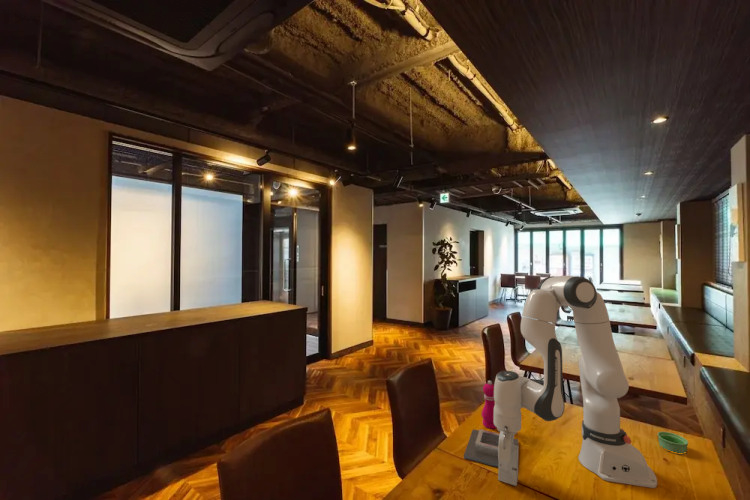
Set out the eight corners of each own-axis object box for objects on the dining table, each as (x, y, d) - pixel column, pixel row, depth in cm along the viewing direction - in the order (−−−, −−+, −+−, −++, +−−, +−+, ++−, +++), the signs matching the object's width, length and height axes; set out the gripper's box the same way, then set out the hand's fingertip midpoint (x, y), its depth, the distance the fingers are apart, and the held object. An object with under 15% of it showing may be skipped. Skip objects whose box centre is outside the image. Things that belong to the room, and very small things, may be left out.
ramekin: (695, 455, 125) (695, 444, 125) (671, 456, 125) (671, 444, 125) (673, 442, 134) (673, 431, 134) (651, 442, 134) (651, 431, 134)
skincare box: (497, 480, 112) (497, 445, 112) (499, 472, 116) (499, 438, 116) (517, 486, 109) (517, 450, 109) (518, 478, 113) (518, 443, 113)
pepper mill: (496, 421, 150) (496, 377, 150) (500, 429, 143) (500, 384, 143) (480, 420, 151) (479, 377, 151) (483, 429, 144) (483, 383, 144)
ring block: (518, 442, 134) (518, 432, 134) (515, 472, 116) (515, 460, 116) (472, 431, 142) (472, 422, 142) (463, 458, 124) (463, 447, 124)
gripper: (515, 438, 102) (514, 482, 102) (518, 409, 120) (518, 447, 120) (493, 433, 105) (493, 476, 105) (500, 406, 123) (500, 442, 123)
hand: (506, 460), depth 113 cm, fingers open, 8 cm apart
